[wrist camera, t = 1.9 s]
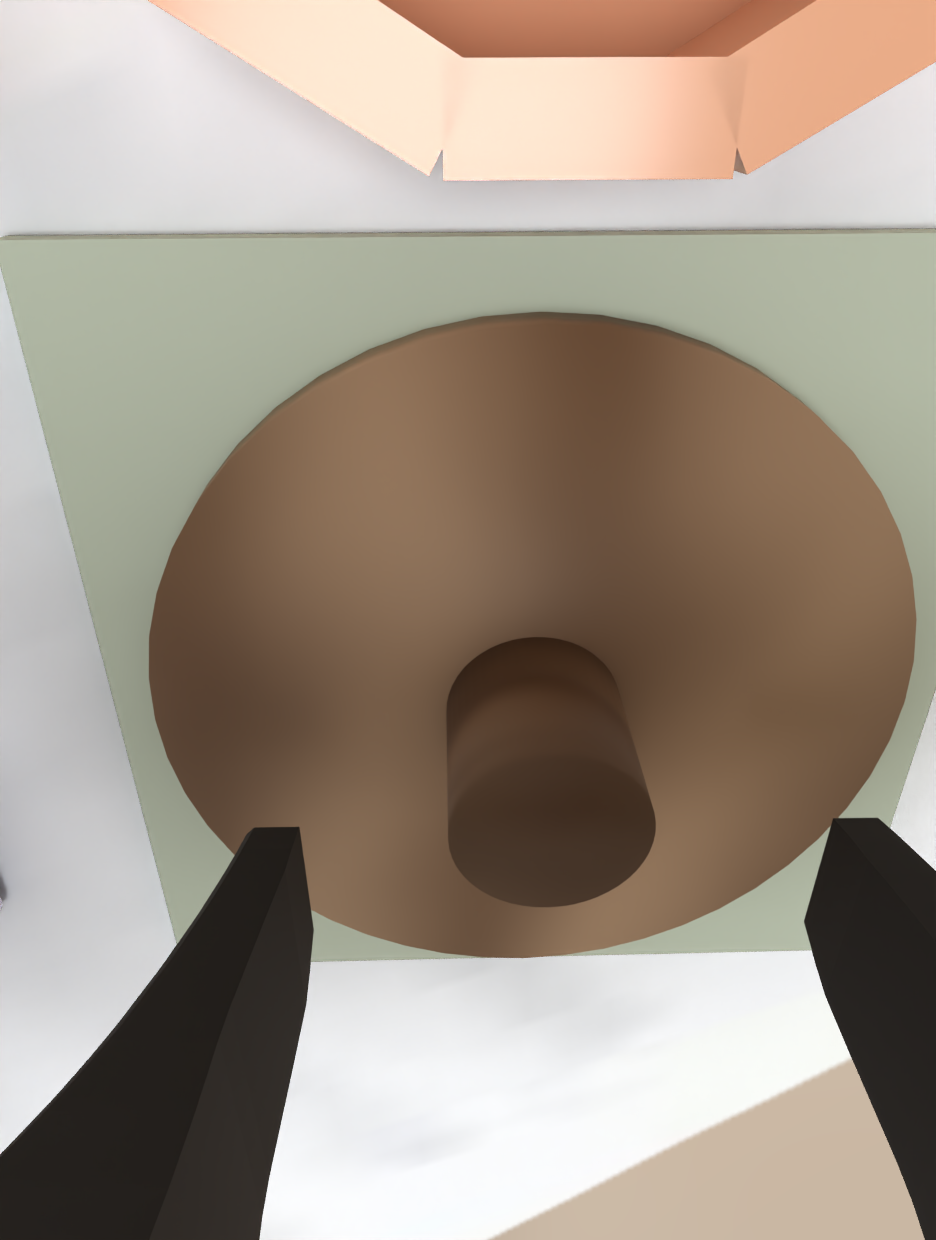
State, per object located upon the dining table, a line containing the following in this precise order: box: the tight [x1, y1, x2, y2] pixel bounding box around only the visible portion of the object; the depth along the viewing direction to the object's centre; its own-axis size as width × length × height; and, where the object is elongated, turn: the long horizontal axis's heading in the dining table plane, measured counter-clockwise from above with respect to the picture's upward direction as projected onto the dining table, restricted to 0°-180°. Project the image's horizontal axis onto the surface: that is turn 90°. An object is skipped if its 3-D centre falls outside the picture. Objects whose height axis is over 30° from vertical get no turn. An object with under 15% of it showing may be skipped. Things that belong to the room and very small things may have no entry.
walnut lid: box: [149, 312, 917, 958], centre depth 14 cm, size 13×13×4 cm
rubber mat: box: [0, 229, 936, 962], centre depth 16 cm, size 15×15×1 cm
